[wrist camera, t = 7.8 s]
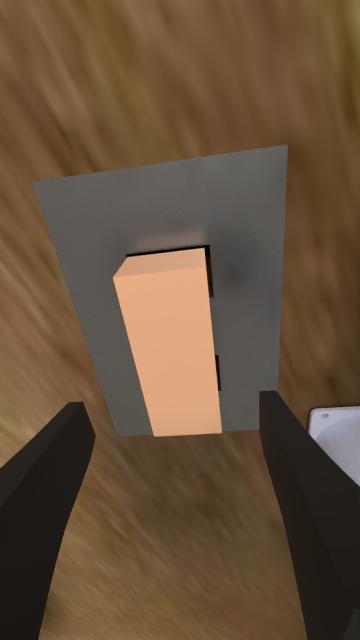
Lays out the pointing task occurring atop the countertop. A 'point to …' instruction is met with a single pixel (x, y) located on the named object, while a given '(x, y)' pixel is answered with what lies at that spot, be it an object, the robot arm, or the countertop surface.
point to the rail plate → (171, 233)
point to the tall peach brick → (172, 339)
